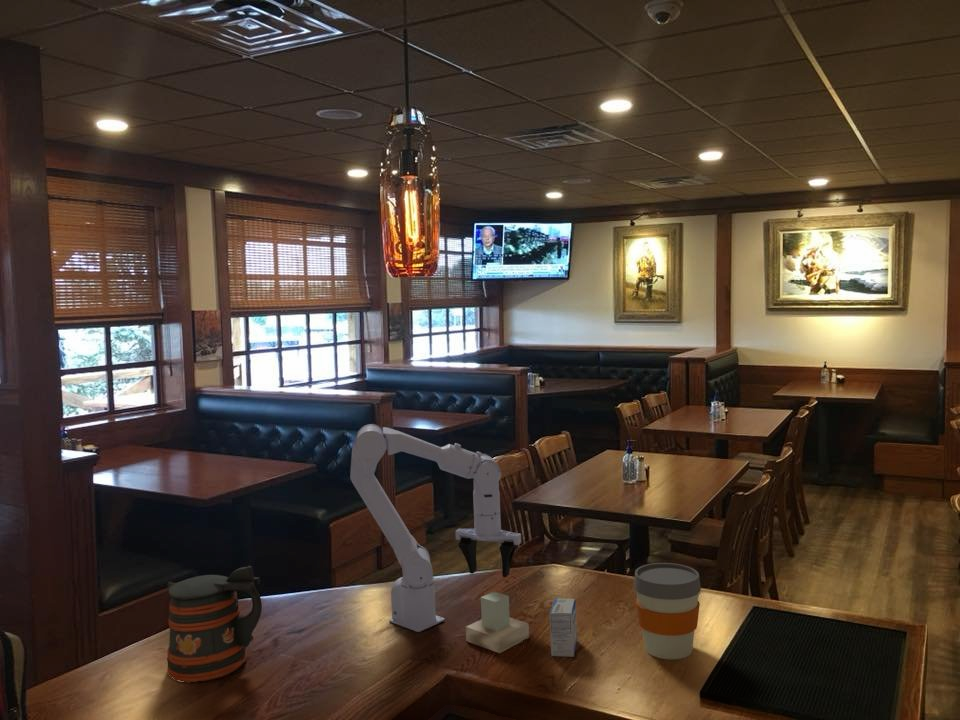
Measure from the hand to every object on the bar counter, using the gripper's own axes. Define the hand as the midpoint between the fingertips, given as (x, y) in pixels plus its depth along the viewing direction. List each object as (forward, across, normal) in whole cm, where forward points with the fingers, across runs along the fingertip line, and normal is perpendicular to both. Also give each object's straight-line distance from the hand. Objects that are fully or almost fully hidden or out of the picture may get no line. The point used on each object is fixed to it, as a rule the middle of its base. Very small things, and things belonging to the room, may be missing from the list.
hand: (489, 573), depth 172 cm
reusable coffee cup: (+10, +39, -5) cm, 40 cm away
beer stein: (+10, -42, -38) cm, 57 cm away
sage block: (+6, +6, -11) cm, 14 cm away
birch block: (+9, +6, -11) cm, 15 cm away
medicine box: (+10, +20, -10) cm, 24 cm away
